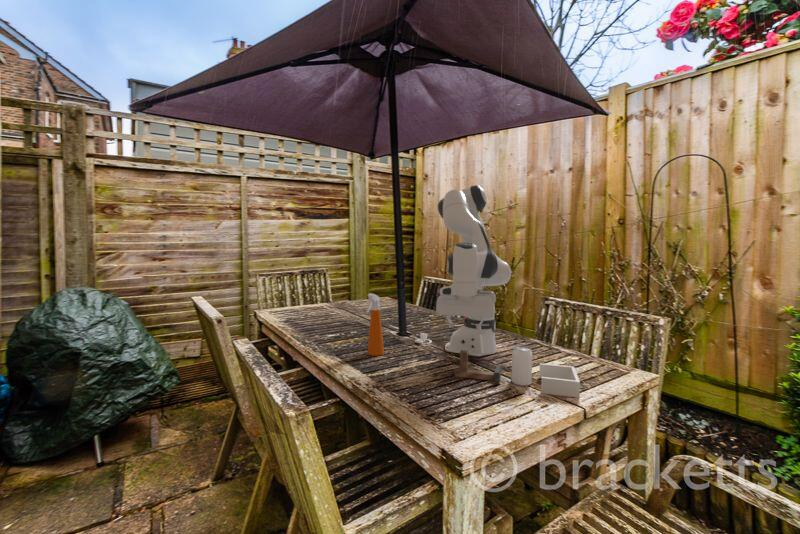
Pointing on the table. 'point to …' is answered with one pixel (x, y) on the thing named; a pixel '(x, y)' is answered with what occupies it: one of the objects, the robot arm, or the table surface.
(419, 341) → the teacup and saucer
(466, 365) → the brown l-shaped rod
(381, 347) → the spray bottle
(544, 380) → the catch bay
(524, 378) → the can
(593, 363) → the table surface
